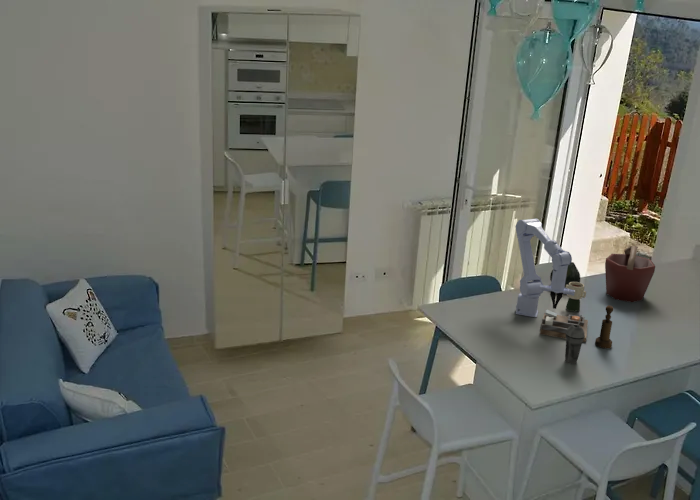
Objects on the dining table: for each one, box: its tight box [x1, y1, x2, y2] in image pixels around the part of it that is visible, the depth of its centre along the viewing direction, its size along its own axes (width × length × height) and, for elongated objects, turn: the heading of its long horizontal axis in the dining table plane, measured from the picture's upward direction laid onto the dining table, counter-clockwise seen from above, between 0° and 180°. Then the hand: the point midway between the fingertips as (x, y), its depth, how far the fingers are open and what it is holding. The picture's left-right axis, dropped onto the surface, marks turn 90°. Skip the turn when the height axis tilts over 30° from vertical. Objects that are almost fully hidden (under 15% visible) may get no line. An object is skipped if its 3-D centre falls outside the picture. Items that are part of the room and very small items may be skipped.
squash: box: [549, 262, 581, 288], centre depth 350 cm, size 14×15×15 cm
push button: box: [571, 315, 581, 322], centre depth 307 cm, size 4×4×2 cm
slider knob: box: [545, 316, 554, 326], centre depth 300 cm, size 3×5×4 cm, turn 160°
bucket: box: [604, 245, 656, 303], centre depth 341 cm, size 24×22×25 cm
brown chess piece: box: [594, 304, 614, 350], centre depth 287 cm, size 7×6×18 cm
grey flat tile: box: [544, 309, 558, 318], centre depth 311 cm, size 5×4×1 cm
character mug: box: [565, 282, 587, 312], centre depth 323 cm, size 11×7×13 cm, turn 38°
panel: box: [539, 312, 589, 343], centre depth 303 cm, size 19×20×4 cm
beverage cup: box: [564, 314, 585, 365], centre depth 272 cm, size 7×7×20 cm
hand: (554, 307), depth 302 cm, fingers closed
